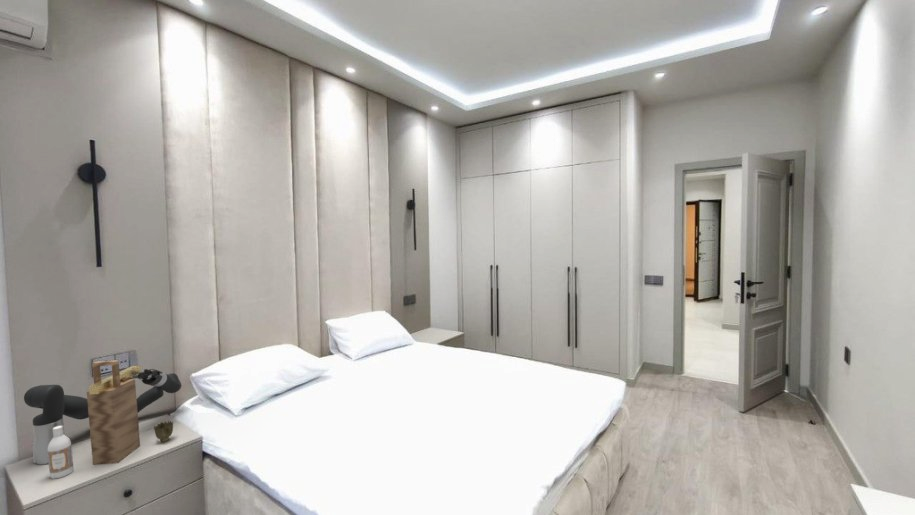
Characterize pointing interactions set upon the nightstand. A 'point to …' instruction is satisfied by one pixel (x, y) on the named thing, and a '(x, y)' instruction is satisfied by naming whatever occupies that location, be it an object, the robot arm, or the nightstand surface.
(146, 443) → the nightstand surface
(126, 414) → the walnut stand
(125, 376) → the gold square bar
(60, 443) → the bath foam
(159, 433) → the cup
